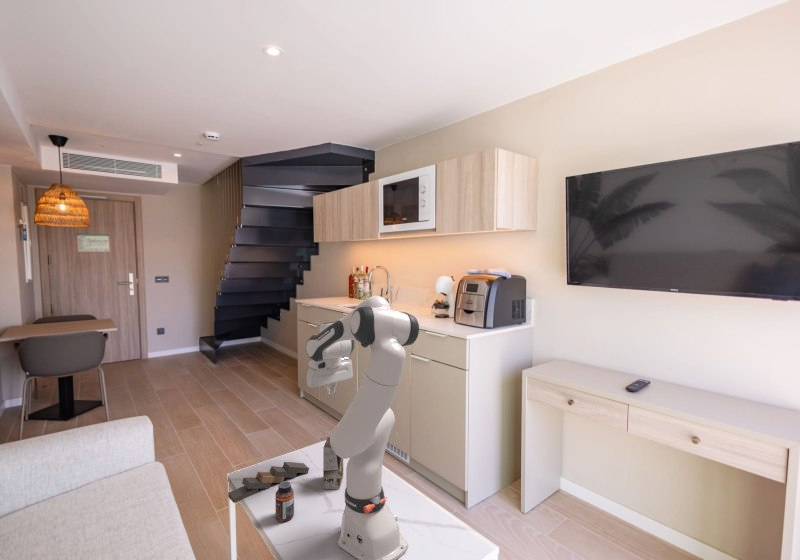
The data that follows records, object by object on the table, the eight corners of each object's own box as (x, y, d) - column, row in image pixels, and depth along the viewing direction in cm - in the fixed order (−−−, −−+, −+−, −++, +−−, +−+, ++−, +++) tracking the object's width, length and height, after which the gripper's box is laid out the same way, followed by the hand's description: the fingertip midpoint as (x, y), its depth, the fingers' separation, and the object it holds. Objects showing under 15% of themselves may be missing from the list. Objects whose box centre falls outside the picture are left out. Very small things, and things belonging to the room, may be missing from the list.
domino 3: (284, 477, 152) (263, 476, 146) (282, 482, 151) (261, 482, 145) (278, 472, 155) (257, 471, 149) (276, 477, 155) (255, 477, 149)
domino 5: (309, 468, 159) (289, 466, 153) (307, 473, 158) (287, 472, 153) (303, 463, 162) (284, 461, 157) (301, 468, 162) (282, 466, 156)
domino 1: (258, 487, 145) (233, 498, 139) (258, 493, 145) (233, 503, 139) (252, 482, 149) (228, 492, 142) (252, 487, 149) (228, 497, 142)
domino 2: (271, 482, 148) (249, 483, 142) (269, 488, 148) (248, 488, 142) (265, 477, 152) (243, 477, 146) (263, 482, 152) (241, 483, 145)
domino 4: (297, 472, 155) (276, 471, 150) (295, 477, 155) (274, 476, 149) (291, 467, 159) (271, 466, 154) (289, 472, 159) (269, 471, 153)
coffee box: (339, 489, 147) (339, 447, 146) (322, 489, 148) (322, 447, 147) (343, 476, 156) (343, 436, 156) (327, 475, 157) (327, 436, 156)
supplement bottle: (272, 516, 132) (272, 483, 131) (289, 508, 136) (289, 477, 135) (280, 525, 128) (279, 491, 127) (297, 517, 131) (296, 484, 131)
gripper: (347, 355, 172) (347, 386, 172) (304, 363, 158) (305, 396, 159) (355, 357, 167) (356, 389, 168) (312, 366, 154) (312, 401, 154)
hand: (330, 393), depth 163 cm, fingers closed
